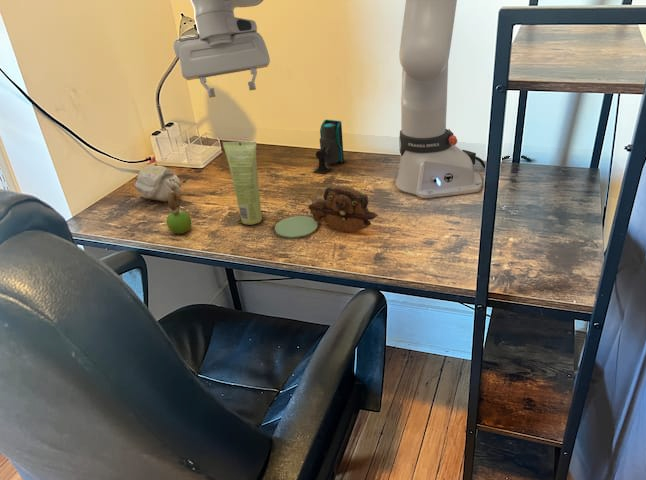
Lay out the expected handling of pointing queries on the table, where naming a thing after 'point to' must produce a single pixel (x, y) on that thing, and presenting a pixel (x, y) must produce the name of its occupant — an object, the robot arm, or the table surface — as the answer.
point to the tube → (245, 179)
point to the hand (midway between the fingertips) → (232, 93)
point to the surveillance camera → (330, 145)
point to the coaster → (296, 226)
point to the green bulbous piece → (177, 213)
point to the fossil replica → (156, 182)
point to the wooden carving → (343, 209)
